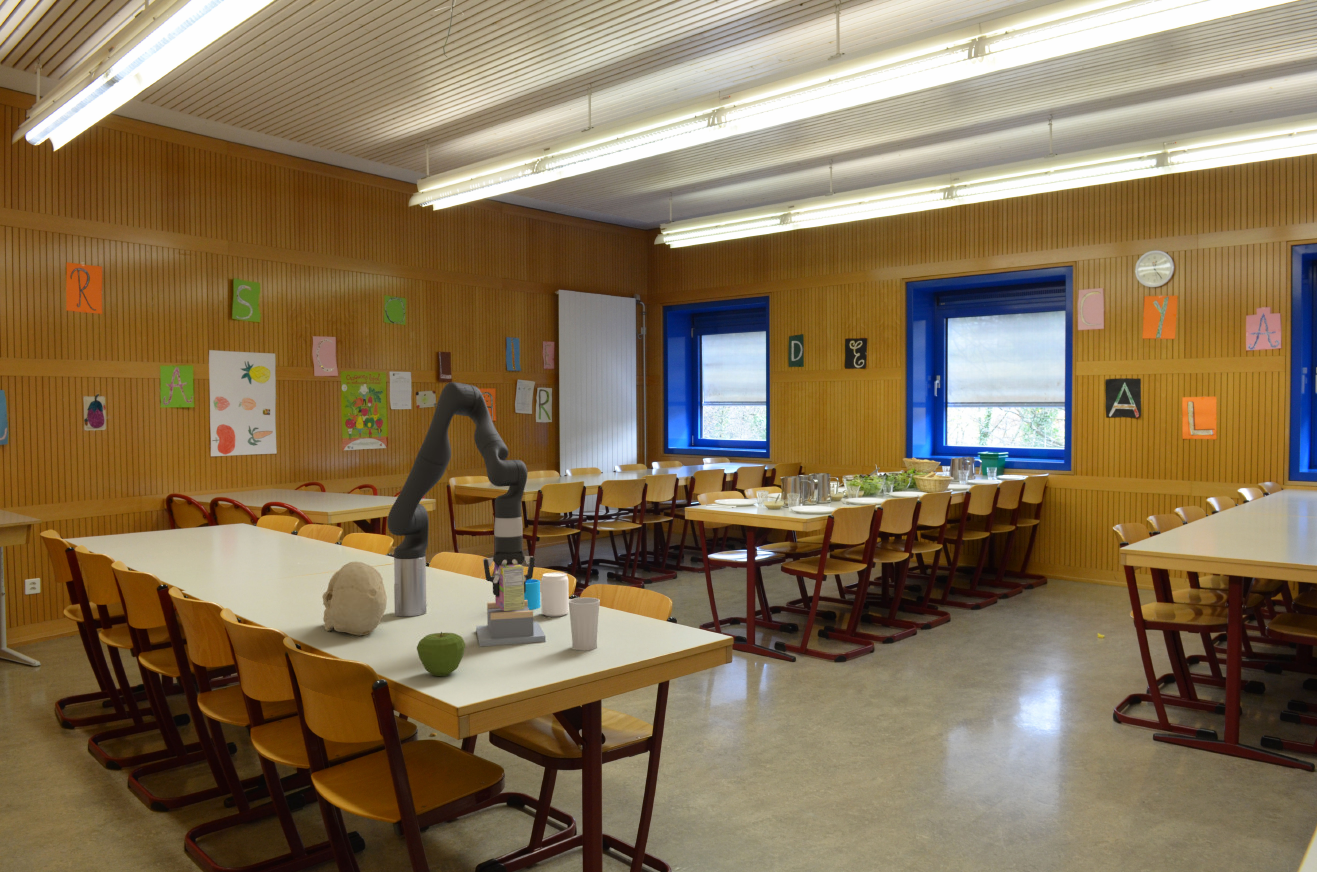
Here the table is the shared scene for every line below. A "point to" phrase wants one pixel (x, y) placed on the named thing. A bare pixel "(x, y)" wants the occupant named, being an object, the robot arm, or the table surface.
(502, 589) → the box
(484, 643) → the display stand
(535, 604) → the mug
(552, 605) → the beverage can
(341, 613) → the skull
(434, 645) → the apple
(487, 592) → the table surface
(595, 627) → the cup
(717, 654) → the table surface
